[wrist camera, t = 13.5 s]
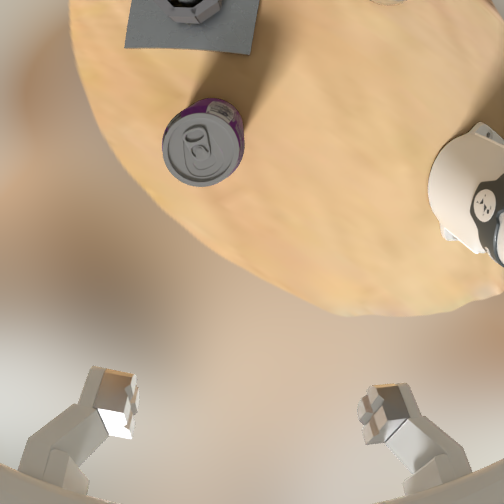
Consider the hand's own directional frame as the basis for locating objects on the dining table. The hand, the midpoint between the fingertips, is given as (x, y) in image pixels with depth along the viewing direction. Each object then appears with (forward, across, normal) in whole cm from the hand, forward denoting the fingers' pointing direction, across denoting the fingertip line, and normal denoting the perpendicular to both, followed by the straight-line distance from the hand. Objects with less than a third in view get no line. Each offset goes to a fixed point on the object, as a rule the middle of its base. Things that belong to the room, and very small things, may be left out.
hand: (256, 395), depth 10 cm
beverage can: (+31, +4, -3) cm, 32 cm away
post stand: (+31, +8, -18) cm, 37 cm away
